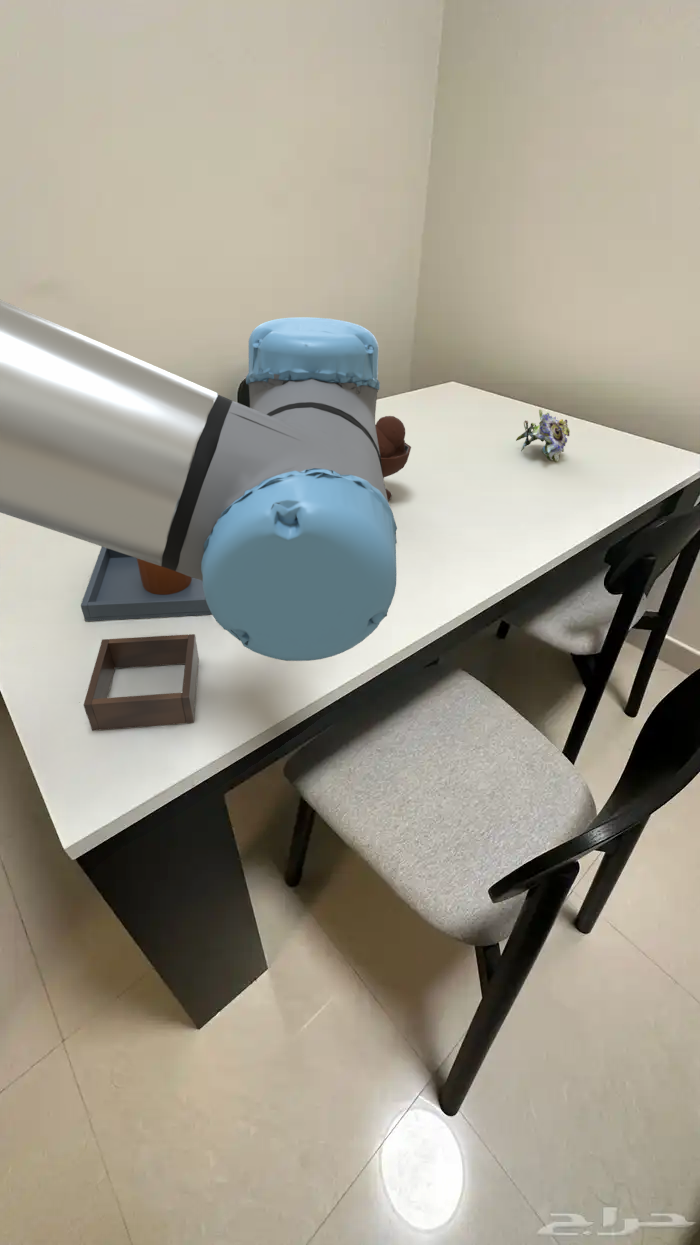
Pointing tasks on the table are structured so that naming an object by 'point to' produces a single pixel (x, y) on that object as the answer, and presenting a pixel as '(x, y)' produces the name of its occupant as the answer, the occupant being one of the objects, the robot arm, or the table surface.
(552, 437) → the passion flower
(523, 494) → the table surface
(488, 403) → the table surface
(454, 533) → the table surface
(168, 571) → the bottle
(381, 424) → the ice cream bowl
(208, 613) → the tray
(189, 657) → the tray
